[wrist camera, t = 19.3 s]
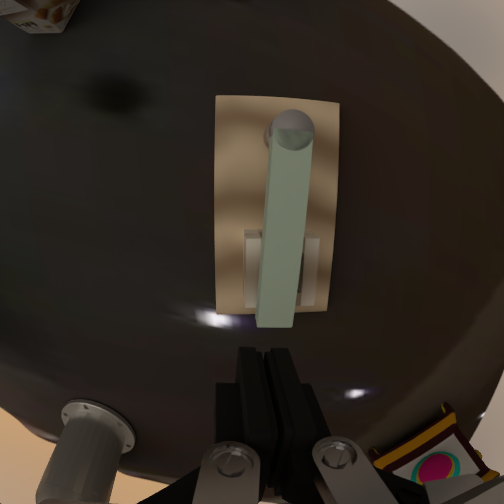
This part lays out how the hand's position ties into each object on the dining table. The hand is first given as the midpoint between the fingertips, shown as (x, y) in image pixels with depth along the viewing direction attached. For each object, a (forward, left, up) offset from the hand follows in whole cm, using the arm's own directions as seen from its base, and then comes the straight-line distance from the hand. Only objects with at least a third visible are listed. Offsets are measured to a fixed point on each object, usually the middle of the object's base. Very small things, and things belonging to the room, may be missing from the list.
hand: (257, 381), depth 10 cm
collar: (-2, -4, -21) cm, 21 cm away
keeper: (+3, -4, -16) cm, 17 cm away
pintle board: (+3, -4, -22) cm, 23 cm away
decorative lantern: (-42, -35, -22) cm, 59 cm away
